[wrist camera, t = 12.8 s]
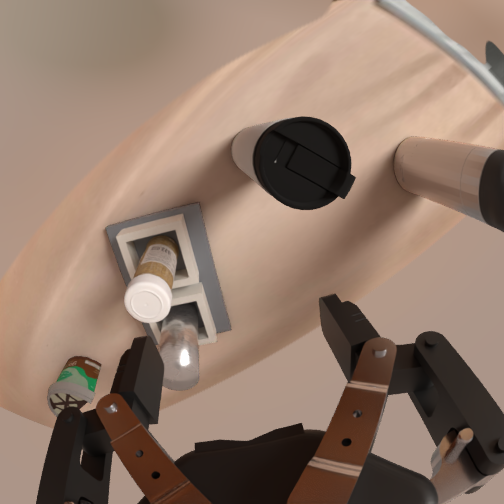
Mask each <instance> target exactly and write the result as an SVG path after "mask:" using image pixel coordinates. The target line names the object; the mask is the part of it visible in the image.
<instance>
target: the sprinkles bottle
mask: <svg viewBox="0 0 504 504" xmlns="http://www.w3.org/2000/svg"><path fill="white" fill-rule="evenodd" d="M178 256H179V249H178V246H177V244H176V242H175V241H174V240H173V239H171V238H170V237H167V236H162V235H160V236H156V237H154V238H152V239H151V240H150V241H149V242H148V244H147V246H146V250H145V252H144V253H143V255H142V257H141V259H140V261H139V264H138V267H137V270H136V272H135V274H134V277H133V279H132V280H131V281H130V283H129V284H128V287H127V289H126V292H125V295H124V304H125V307H126V309H127V311H128V313H129V314H130V315H131V316H132V317H133V318H135V319H137V320H139V321H141V322H144V323H156V322H159V321H161V320H163V319H164V318H165V317H166V316H167V315H168V313H169V311H170V308H171V303H172V292H171V290H172V286H173V282H174V276H175V270H176V265H177V259H178Z"/></svg>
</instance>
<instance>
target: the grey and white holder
mask: <svg viewBox="0 0 504 504" xmlns="http://www.w3.org/2000/svg"><path fill="white" fill-rule="evenodd" d="M106 231H107V234H108V237H109V240H110V243H111V246H112V249H113V252H114V254H115V257H116V260H117V263H118V265H119V268H120V271H121V273H122V276H123V279H124V281H125V284H126V286H127V287H128V284H129V283H130V281H131V280H132V279H133V277H134V274H135V272H136V270H137V267H138V264H139V261H140V259H141V257H142V255H143V253H144V252H145V250H146V246H147V244H148V242H149V241H150V240H151V239H152V238H154V237H156V236H160V235H162V236H167V237H170V238H171V239H173V240H174V241H175V242H176V244H177V246H178V249H179V256H178V259H177V265H176V270H175V276H174V282H173V286H172V290H171V292H172V303H171V306H174V305H179V304H184V303H189V302H192V303H194V304H195V306H196V307H197V309H198V344H199V345H204V344H209V343H214V342H217V334H216V333H221V332H225V331H230V330H231V325H230V322H229V318H228V314H227V311H226V307H225V303H224V300H223V296H222V292H221V288H220V285H219V281H218V277H217V273H216V269H215V265H214V261H213V257H212V253H211V249H210V245H209V241H208V237H207V233H206V229H205V225H204V221H203V217H202V212H201V208H200V204H199V202H197V203H193V204H189V205H184V206H180V207H176V208H172V209H168V210H164V211H160V212H156V213H153V214H149V215H145V216H141V217H137V218H134V219H130V220H126V221H123V222H119V223H116V224H112V225H109V226H107V227H106ZM162 323H163V320H161V321H159V322H156V323H144V322H142V324H143V326H144V328H145V331H146V333H147V335H148V336H150V337H151V338H152V340H153V342H154V344H155V345H159V341H160V335H161V329H162Z"/></svg>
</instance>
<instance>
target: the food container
mask: <svg viewBox="0 0 504 504" xmlns="http://www.w3.org/2000/svg"><path fill="white" fill-rule="evenodd" d="M100 367H101V364H100V363H98V362H97V361H95V360H92V359H90V358H87V357H82V356H75V357H72V358H70V359H69V360H68V362H67V364H66V365H65V367H64V369H63V371H62V372H61V374H60V376H59V378H58V380H57V382H56V383H53V384H52V385H51V386H50V387H49V390H48V396H47V399H48V405H49V408H50V409H51V411H52V412H53V414H54V415H55V416H56V417H58V415H59V413H60V412H61V411H62V410H63V409H65V408H67V407H70V406H74V407H77V408H78V409H80V408H81V407H82V406H84V405H85V404H86V403H87V402H89V403H92V400H93V398H94V395H95V393H94V390H95V386H96V382H97V379H98V375H99V371H100Z"/></svg>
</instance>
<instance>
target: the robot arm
mask: <svg viewBox="0 0 504 504" xmlns="http://www.w3.org/2000/svg"><path fill="white" fill-rule="evenodd" d="M394 171H395V176H396V179H397V181H398V183H399V184H400V186H401V187H402V188H403V189H405V190H406V191H408V192H411V193H413V194H416V195H419V196H421V197H424V198H426V199H429V200H431V201H434V202H437V203H439V204H442V205H444V206H446V207H449V208H451V209H454V210H456V211H458V212H461V213H463V214H465V215H468V216H470V217H473V218H475V219H477V220H479V221H481V222H484V223H486V224H488V225H490V226H492V227H494V228H497V229H499V230H501V231H503V232H504V150H499V149H495V148H490V147H485V146H479V145H473V144H467V143H461V142H455V141H448V140H441V139H433V138H425V137H409V138H407V139H405V140H404V141H403V142H402V143H401V144H400V145H399V147H398V149H397V151H396V154H395V158H394ZM319 306H320V318H321V327H322V331H323V334H324V337H325V338H326V340H327V342H328V344H329V346H330V348H331V349H332V352H333V353H334V355H335V358H336V359H337V361H338V363H339V365H340V367H341V369H342V371H343V373H344V375H345V377H346V379H347V380H348V383H347V384H346V386H345V389H344V391H343V394H342V396H341V398H340V401H339V403H338V405H337V408H336V410H335V413H334V415H333V417H332V419H331V421H330V424H329V426H328V428H327V430H326V432H325V431H321V430H304V429H303V425H302V423H299V424H296V425H292V426H288V427H284V428H279V429H275V430H273V431H271V432H269V433H266V434H264V435H262V436H259V437H257V438H255V439H253V440H249V441H234V440H214V441H207V442H199V443H195V450H194V451H191V452H189V453H187V454H185V455H183V456H182V457H180V458H179V459H177V460H176V461H174V460H173V459H172V458H171V457H170V456H169V455H168V454H167V452H166V451H165V450H164V449H163V448H162V447H161V445H160V444H159V443H158V442H157V440H156V439H155V438H154V437H153V436H152V434H151V433H150V432H149V431H148V428H149V424H158V416H159V408H160V400H161V392H162V385H163V377H164V363H163V360H162V358H161V356H160V354H159V352H158V350H157V348H156V346H155V344H154V342H153V340H152V338H151V337H150V336H143V337H137V338H134V340H133V343H132V346H131V349H127V350H126V351H125V353H124V354H123V355H122V357H121V359H120V362H119V366H118V368H117V373H116V375H115V378H114V381H113V385H112V388H111V391H110V394H108V395H106V396H104V397H102V398H101V399H100V400H99V402H98V403H97V406H96V409H93V410H90V411H87V412H84V413H82V412H81V411H80V410H79V409H78V408H77V407H74V406H70V407H67V408H65V409H63V410H62V411H61V412H60V413H59V415H58V417H57V420H56V423H55V426H54V429H53V433H52V436H51V440H50V444H49V447H48V451H47V455H46V459H45V463H44V467H43V471H42V476H41V480H40V485H39V490H38V495H37V501H36V504H108V495H109V483H110V482H109V481H110V472H111V462H112V454H113V451H115V452H116V453H117V455H118V457H119V458H120V460H121V462H122V463H123V465H124V466H125V468H126V469H127V471H128V472H129V474H130V475H131V477H132V478H133V479H134V481H135V482H136V484H137V485H138V487H139V488H140V489H141V491H142V492H143V493H144V495H145V496H144V497H143V498H142V499H141V500H140V502H139V503H138V504H446V503H448V502H450V501H451V500H453V499H455V498H456V497H458V496H460V495H462V494H463V493H465V494H470V493H473V492H476V491H477V490H478V489H480V488H481V487H482V486H484V485H485V484H486V483H487V482H488V481H489V480H491V479H492V478H493V477H494V476H495V475H496V474H498V473H499V472H500V471H501V470H502V469H503V468H504V414H503V412H502V411H501V409H500V408H499V406H498V405H497V404H496V402H495V401H494V399H493V398H492V397H491V395H490V394H489V393H488V391H487V390H486V388H485V387H484V386H483V384H482V383H481V382H480V381H479V379H478V378H477V377H476V375H475V374H474V373H473V371H472V370H471V369H470V368H469V366H468V365H467V364H466V363H465V361H464V360H463V359H462V358H461V356H460V355H459V354H458V353H457V351H456V350H455V349H454V348H453V347H452V346H451V344H450V343H449V342H448V341H447V339H446V338H445V337H444V336H443V335H442V334H440V333H437V332H433V331H428V332H424V333H422V334H420V335H419V336H418V337H417V338H416V341H415V343H412V344H405V345H395V343H394V342H393V341H391V340H389V339H387V338H383V337H380V335H379V334H378V333H377V331H376V330H375V329H374V328H373V326H372V325H371V323H370V322H369V321H368V320H367V319H366V317H365V316H364V314H363V313H362V312H361V311H360V309H359V308H358V307H357V305H355V304H353V303H351V302H349V301H346V302H341V301H340V299H339V298H338V296H337V295H336V294H331V295H328V296H324V297H321V298H319ZM400 393H408V394H409V396H410V398H411V400H412V402H413V403H414V405H415V407H416V409H417V411H418V412H419V414H420V416H421V418H422V420H423V421H424V424H425V425H426V427H427V429H428V431H429V433H430V435H431V437H432V439H433V440H434V443H435V445H436V446H437V448H436V450H435V451H434V453H433V455H432V458H431V466H432V471H433V473H432V477H431V479H430V480H429V479H428V478H426V477H425V476H423V475H421V474H419V473H417V472H414V471H412V470H409V469H407V468H404V467H402V466H400V465H397V464H395V463H393V462H390V461H388V460H386V459H384V458H381V457H379V456H377V455H375V454H372V453H371V450H372V448H373V445H374V442H375V439H376V435H377V432H378V429H379V425H380V422H381V419H382V415H383V412H384V408H385V404H386V401H387V397H388V395H392V394H400ZM82 449H83V455H82V461H81V465H80V455H81V450H82Z"/></svg>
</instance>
